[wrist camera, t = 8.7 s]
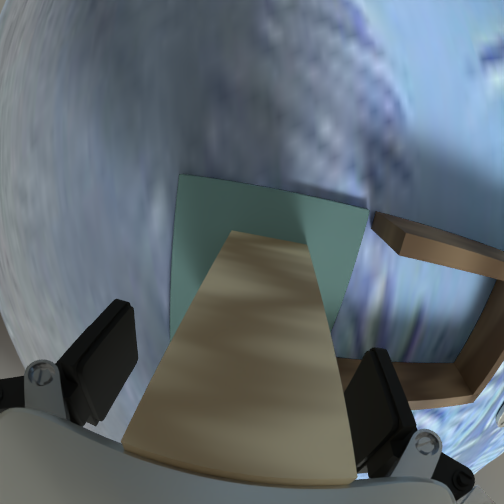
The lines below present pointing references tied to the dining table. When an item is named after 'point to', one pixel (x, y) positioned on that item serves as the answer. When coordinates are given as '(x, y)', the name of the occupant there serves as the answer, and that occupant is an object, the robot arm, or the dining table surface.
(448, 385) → the crate
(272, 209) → the mat
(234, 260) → the birch block
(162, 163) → the dining table surface
